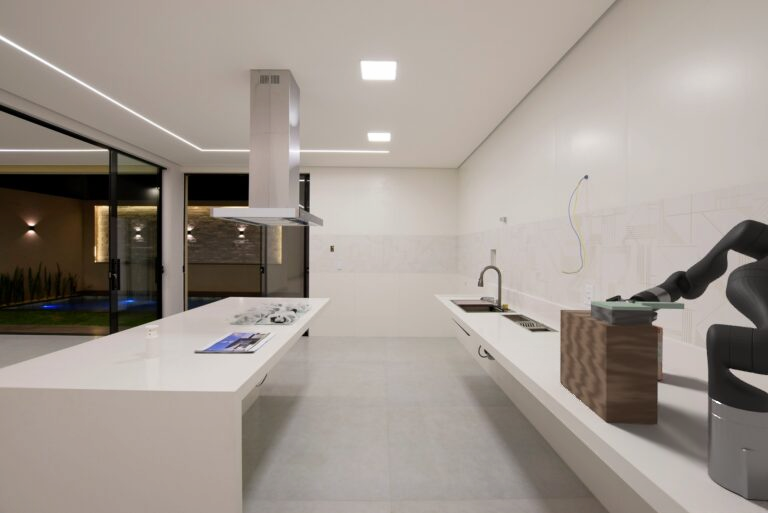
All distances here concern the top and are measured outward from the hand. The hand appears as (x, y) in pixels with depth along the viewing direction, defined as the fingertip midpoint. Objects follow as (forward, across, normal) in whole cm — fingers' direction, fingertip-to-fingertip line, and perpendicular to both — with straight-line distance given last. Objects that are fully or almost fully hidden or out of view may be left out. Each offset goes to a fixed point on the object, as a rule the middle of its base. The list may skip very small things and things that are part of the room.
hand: (613, 316), depth 108 cm
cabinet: (+15, +10, +22) cm, 28 cm away
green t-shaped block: (0, +9, -8) cm, 11 cm away
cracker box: (-22, -2, +40) cm, 46 cm away
